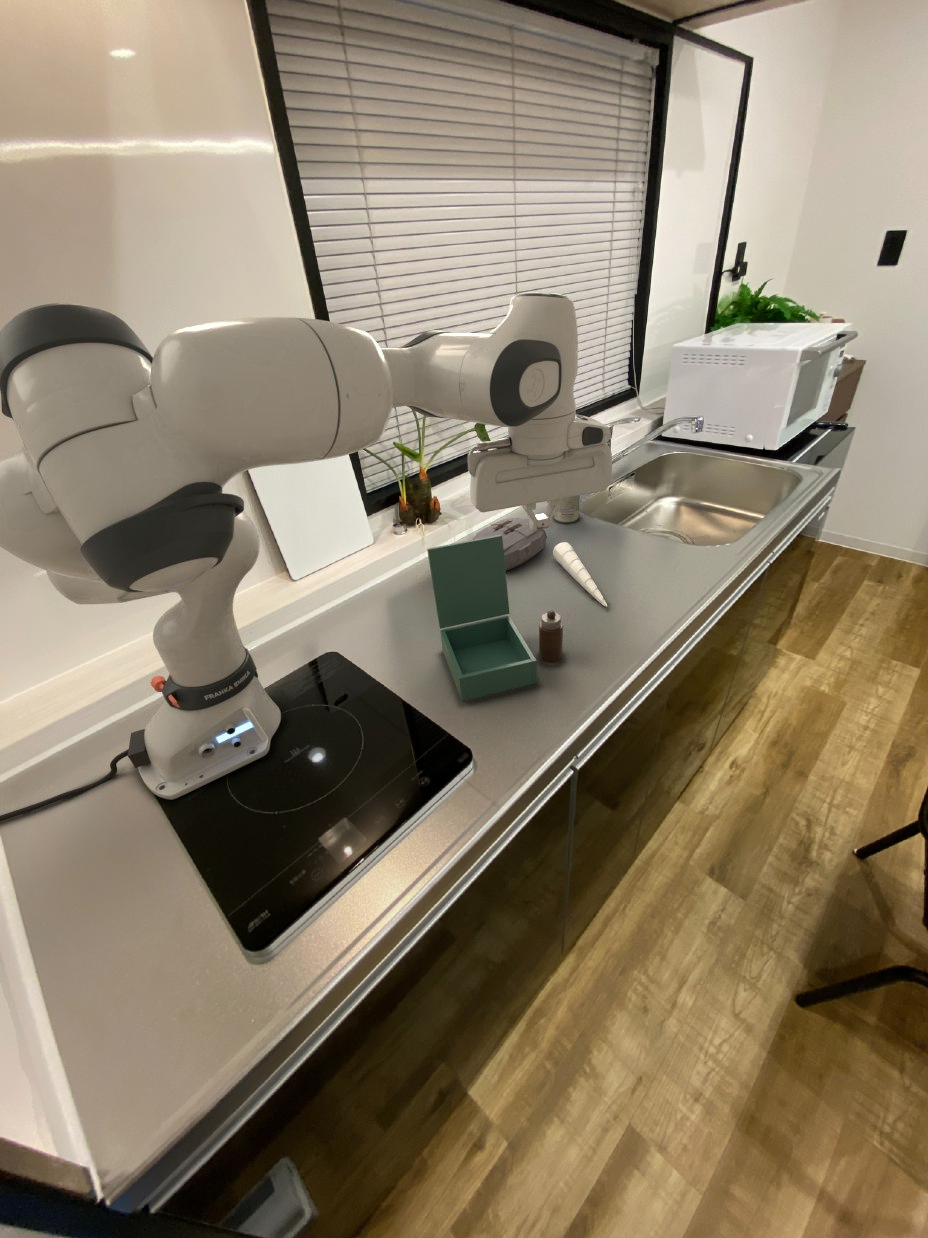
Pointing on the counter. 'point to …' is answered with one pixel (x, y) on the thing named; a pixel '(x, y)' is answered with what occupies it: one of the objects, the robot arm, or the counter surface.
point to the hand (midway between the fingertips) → (540, 527)
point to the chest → (488, 657)
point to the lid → (469, 580)
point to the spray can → (568, 510)
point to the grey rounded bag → (516, 540)
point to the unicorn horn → (576, 569)
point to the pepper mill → (550, 637)
